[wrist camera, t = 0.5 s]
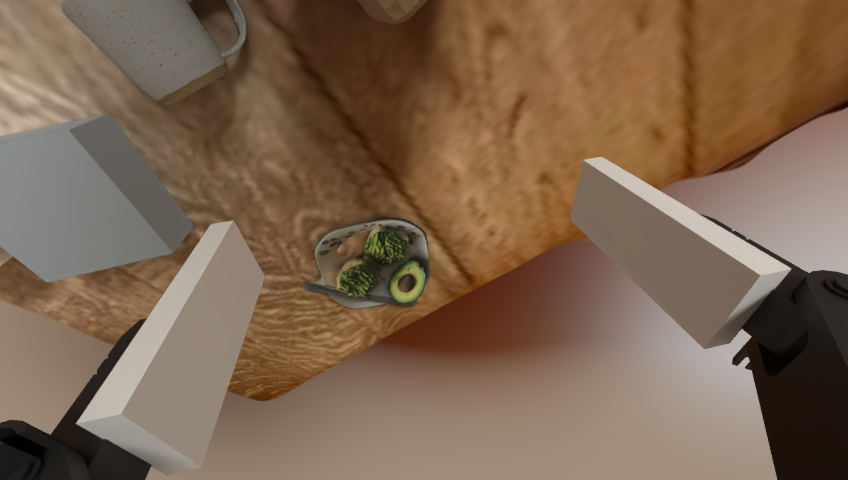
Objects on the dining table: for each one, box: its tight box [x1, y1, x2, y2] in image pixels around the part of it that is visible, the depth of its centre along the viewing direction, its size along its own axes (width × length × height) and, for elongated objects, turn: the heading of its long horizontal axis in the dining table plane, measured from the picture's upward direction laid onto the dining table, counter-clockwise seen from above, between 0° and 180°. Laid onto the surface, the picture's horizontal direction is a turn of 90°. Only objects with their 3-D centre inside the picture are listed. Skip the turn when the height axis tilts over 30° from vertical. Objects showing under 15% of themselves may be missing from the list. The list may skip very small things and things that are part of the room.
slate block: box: [0, 113, 194, 283], centre depth 33 cm, size 14×14×6 cm
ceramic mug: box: [61, 0, 247, 106], centre depth 26 cm, size 11×8×8 cm
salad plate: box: [304, 218, 430, 308], centre depth 47 cm, size 19×18×5 cm
